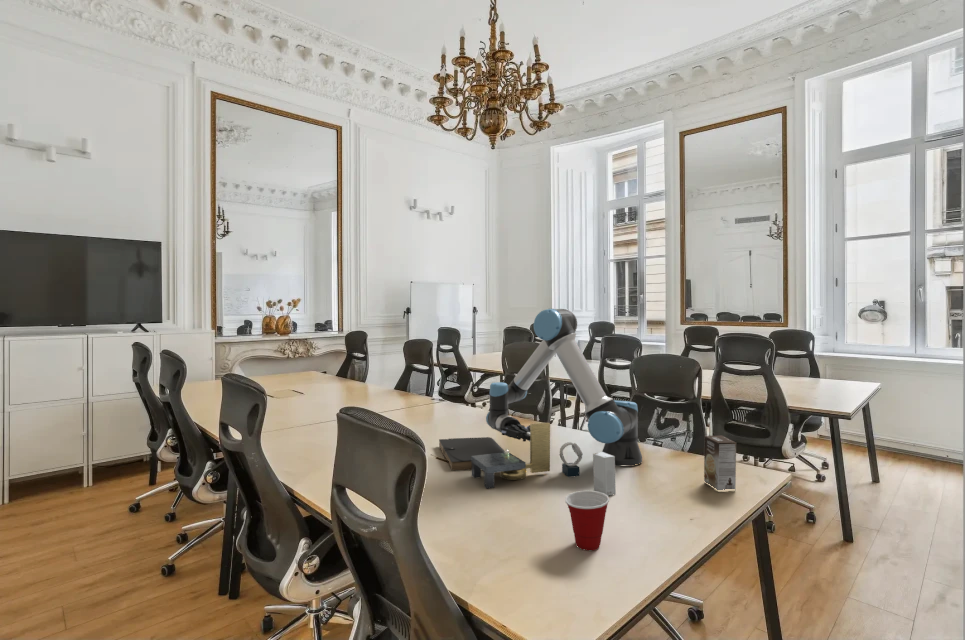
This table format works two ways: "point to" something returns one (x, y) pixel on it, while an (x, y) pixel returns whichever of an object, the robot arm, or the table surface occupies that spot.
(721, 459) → the coffee box
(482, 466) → the levelling stand
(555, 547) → the table surface
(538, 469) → the brass panel with base
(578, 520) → the plastic cup
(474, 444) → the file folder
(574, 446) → the watch
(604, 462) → the skincare box
